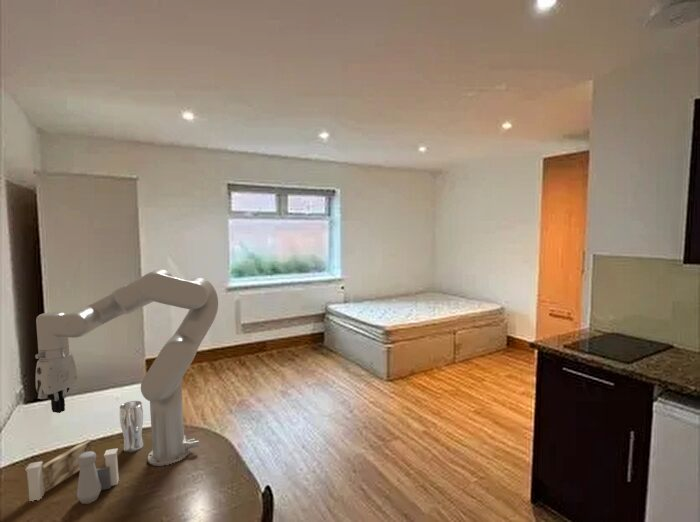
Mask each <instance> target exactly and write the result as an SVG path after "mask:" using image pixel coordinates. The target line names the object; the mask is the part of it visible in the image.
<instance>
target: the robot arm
mask: <svg viewBox="0 0 700 522" xmlns="http://www.w3.org/2000/svg"><path fill="white" fill-rule="evenodd" d="M153 302H155V303H159V304H164V305H166V306H167V305H168V306H173V307H176V308H181V309H184V310H185V309H187V310H188V312H187V313H186V315H185V317H184V318H183V320H182V322H181V323H180V325H179V327H178V328H177V329H176V331H175V333H174V334H173V335H171V337H170V338H169V339H168V340H167V341H166V342H165V344H164V345H163V347H162V348H161V350H160V351H159V353H158V355H156V358H155V360H153V362H152V364H151V365H150V368H149V369H148V370H147V372H146V373H145V375H144V376H143V378H142V380H141V383H140V393H141V395H142V397H143V398H144V399H145V400H147V401H148V402H149V409H150V410H149V412H150V426H151V429H150V430H151V442H152V444H151V445H152V446H151V447H152V450H151V451H150V452H149V453H148V455H147V461H148V463H149V465H152V466H156V467H165V466H164V465H166V466H170V465H169V464H171V465H173V464H172V463H174V464H176V463H175V462H177V461H179V462H181V461H183V460H184V459H185V458H187V457H188V456H187V455H189V454H190V451H191V449H192V448H194V449H195V448H198V447H199V446H200V441H199V440H196V438H190V439H188V438H186V437H187V436H186V435H185V431H184V412H183V411H184V410H183V409H184V408H183V377H184V376H185V374H186V373H187V371H188V369H189V368H190V366H191V364H192V362H193V361H194V359H195V357H196V355H197V352H198V351H199V350H198V349H199V347H200V345H201V344H202V342H203V341H204V339H205V337H206V335H207V334H208V331H209V330H210V328H211V327H212V324H213V323H214V322H215V319H216V317H217V313H218V310H219V297H218V294H217V291H216V288H215V287H214V285H213V284H212V283H211V282H210V281H209V280H208V279H206V278H203V277H195V278H193V279H190V280H186V279H181V278H178V277H174V276H173V275H172V273H170V272H169V271H168V270H166V269H154V270H152V271H150V272H148V273H146V274H144V275H143V276H140V277H138V278H137V279H135V280H133V281H131V282H129V283H125V284H124V285H123V286H120V287H118V288H116V289H115V290H113V291H112V293H110V294H109V295H107V296H105V297H103V298H101V299H99V300H97V301H95V302H93V303H91V304H89V305H87V306H85V307H82V308H80V309H78V310H75V311H73V312H70V313H65V312H63V311H50V312H49V311H48V312H44V313H41V314H39V315H38V316H36V320H35V322H36V323H35V324H36V337H37V350H38V353H37V354H35V356H34V357H35V359H37V362H36V366H35V390H36V393H38V394H37V399H40V400H46V399H47V400H49V401H50V405H51V412H52V413H56V414H61V413H62V412H65V410H66V409H65V408H66V407H65V406H66V402H65V398H66V397H67V394H68V392H69V390H71V389H72V388H74V387H75V386H76V384H77V383H78V370H77V365H76V360H75V358H74V355H73V354H72V353H70V345H69V338H72V339H73V338H75V339H76V338H81V337H83V336H85V335H87V334H89V333H91V331H94V330H95V329H97V328H99V327H101V326H103V325H104V324H106V323H108V322H111V321H112V320H114V319H116V318H118V317H121V316H123V315H129V314H132V313H134V312H135V311H138V310H139V309H141V308H144V307H145V306H146V305H150V304H151V303H153ZM199 448H200V447H199ZM186 456H187V457H186ZM183 458H184V459H183ZM182 459H183V460H182ZM180 460H181V461H180ZM177 463H178V462H177Z"/></svg>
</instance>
